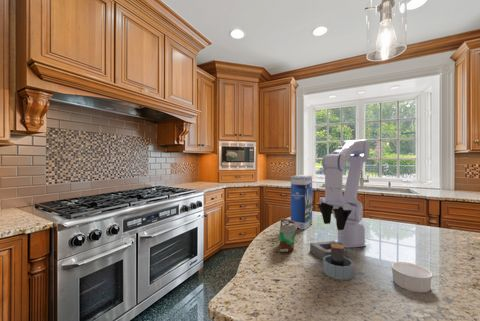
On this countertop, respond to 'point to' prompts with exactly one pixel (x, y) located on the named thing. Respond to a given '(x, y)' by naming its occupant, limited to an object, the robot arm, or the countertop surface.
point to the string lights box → (301, 200)
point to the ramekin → (412, 276)
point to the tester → (323, 249)
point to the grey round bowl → (338, 269)
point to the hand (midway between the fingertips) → (333, 226)
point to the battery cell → (337, 254)
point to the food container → (287, 236)
